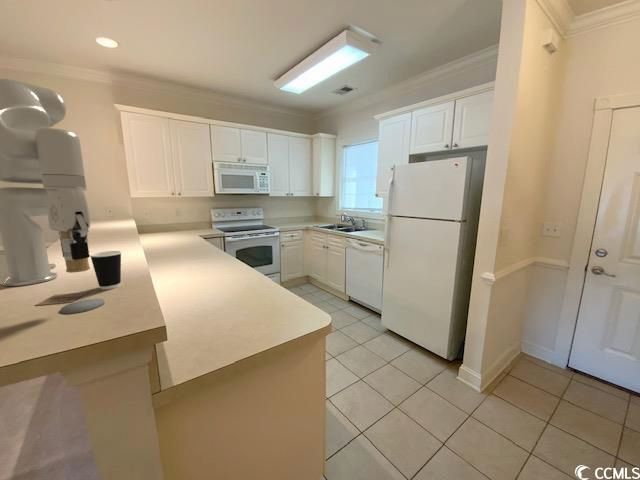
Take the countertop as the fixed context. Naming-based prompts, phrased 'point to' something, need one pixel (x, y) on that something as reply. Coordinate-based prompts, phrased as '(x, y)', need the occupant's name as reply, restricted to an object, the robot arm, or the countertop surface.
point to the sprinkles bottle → (71, 264)
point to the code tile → (62, 298)
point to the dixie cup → (107, 268)
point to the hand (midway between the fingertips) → (76, 256)
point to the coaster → (82, 306)
